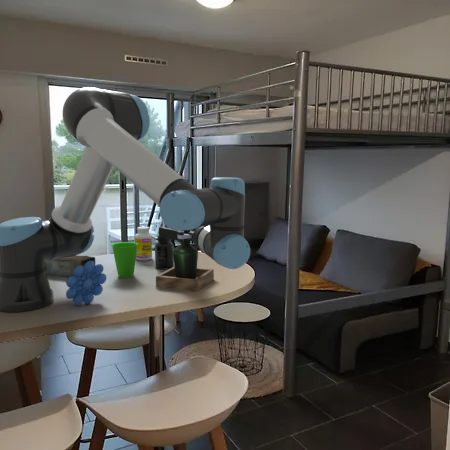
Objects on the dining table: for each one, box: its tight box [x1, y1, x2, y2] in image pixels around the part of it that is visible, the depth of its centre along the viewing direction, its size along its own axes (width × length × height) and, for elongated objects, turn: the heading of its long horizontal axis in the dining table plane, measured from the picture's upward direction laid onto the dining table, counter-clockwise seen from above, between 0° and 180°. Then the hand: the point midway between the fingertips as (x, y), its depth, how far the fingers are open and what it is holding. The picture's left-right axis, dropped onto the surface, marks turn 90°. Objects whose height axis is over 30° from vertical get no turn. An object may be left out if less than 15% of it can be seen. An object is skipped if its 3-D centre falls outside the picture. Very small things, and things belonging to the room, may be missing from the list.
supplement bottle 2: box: [154, 234, 175, 270], centre depth 158 cm, size 7×7×12 cm
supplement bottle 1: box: [134, 226, 153, 262], centre depth 171 cm, size 7×7×13 cm
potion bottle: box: [173, 239, 199, 279], centre depth 137 cm, size 8×8×18 cm
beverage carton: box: [45, 255, 97, 278], centre depth 150 cm, size 8×19×7 cm, turn 71°
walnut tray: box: [155, 267, 215, 293], centre depth 139 cm, size 14×14×4 cm
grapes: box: [65, 261, 107, 306], centre depth 119 cm, size 12×7×12 cm, turn 132°
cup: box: [110, 241, 139, 279], centre depth 147 cm, size 9×9×11 cm
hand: (187, 225), depth 124 cm, fingers open, 13 cm apart
